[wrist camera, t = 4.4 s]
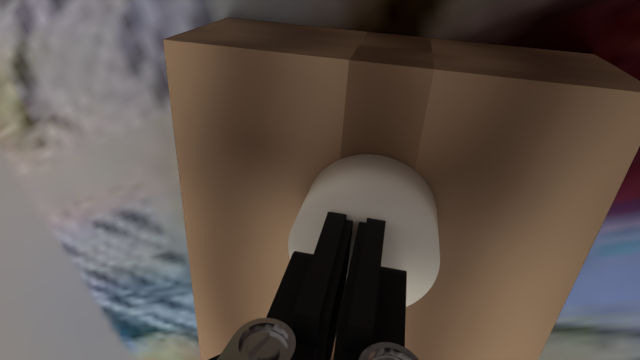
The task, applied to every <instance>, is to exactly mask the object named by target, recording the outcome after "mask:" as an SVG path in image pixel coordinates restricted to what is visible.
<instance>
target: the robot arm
mask: <svg viewBox="0 0 640 360" xmlns="http://www.w3.org/2000/svg"><path fill="white" fill-rule="evenodd" d="M385 224H386V221H384V220H378V219H372V218H367V221H366V222H359V224H358V229H357V233H356V238H355V243H354V247H353V252H352V257H351V261H350V266H349V271H348V275H347V269H348V261H349V253H350V245H351V236H352V228H353V220H347V214H341V213H335V212H328V213H327V216H326V219H325V222H324V225H323V228H322V231H321V234H320V237H319V240H318V242H317V245H316V248H315V251H314V254H309V253H304V252H298V251H294V252H293V254H292V256H291V259H290V261H289V263H288V266H287V268H286V271H285V273H284V276H283V278H282V280H281V283H280V285H279V288H278V290H277V293H276V295H275V297H274V300H273V302H272V305H271V307H270V310H269V312H268V314H267V317H266V318H258V319H255V320H251V321H249V322H247V323H246V324H244V325H242V326H241V327H240V328H239V329H238V330H237V331H236V332H235V334H234V335H233V337H232V338H231V340H230V341H229V343H228V344H227V346H226V347H225V348H224V350H223V351H222V353H221V354H219V355H217V356H215V357H213V358H210V359H208V360H331V357H332V352H333V347H334V343H335V349H334V358H333V360H419V359H418V358H417V357H416V355H415V354H413V353H412V352H411V351H410V350H408V349H407V348H405V321H406V286H407V272H406V271H405V270H399V269H394V268H388V267H382V266H381V260H382V251H383V242H384V233H385ZM346 278H347V280H346ZM335 338H336V340H335Z"/></svg>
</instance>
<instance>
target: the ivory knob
mask: <svg viewBox="0 0 640 360" xmlns="http://www.w3.org/2000/svg"><path fill="white" fill-rule="evenodd" d="M328 212H335V213H341V214H347V220H353V228H352V236H351V245H350V253H349V261H348V269H347V275H348V271H349V266H350V261H351V257H352V252H353V247H354V243H355V238H356V233H357V229H358V224H359V222H366V221H367V218H372V219H378V220H384V221H386V224H385V233H384V242H383V251H382V260H381V266H382V267H388V268H394V269H399V270H405V271H406V272H407V286H406V307H407V306H409V305H411V304H413V303H415V302H416V301H418V300H419V299H421V298H422V297H423V296H424V295H425V294H426V293H427V292H428V291H429V289H430V288H431V287H432V285H433V284H434V282H435V280H436V278H437V275H438V272H439V267H440V248H439V233H438V218H437V207H436V201H435V198H434V195H433V193H432V191H431V189H430V187H429V186H428V184H427V183H426V181H425V180H424V179H423V178H422V177H421V176H420V175H419V174H418V173H417V172H416V171H415V170H413V169H412V168H411V167H409V166H407V165H406V164H404V163H402V162H400V161H398V160H396V159H393V158H390V157H386V156H381V155H374V154H359V155H353V156H349V157H345V158H342V159H340V160H338V161H335V162H334V163H332V164H330V165H329V166H327V167H326V168H325V169H324V170H322V171H321V172H320V174H319V175H318V176H317V177H316V179H315V180H314V181H313V183H312V185H311V187H310V190H309V192H308V194H307V196H306V198H305V200H304V202H303V205H302V207H301V209H300V211H299V213H298V215H297V217H296V220H295V222H294V224H293V226H292V228H291V231H290V235H289V241H288V252H289V257H290V259H291V256H292V254H293V252H294V251H298V252H304V253H309V254H314V251H315V248H316V245H317V242H318V240H319V237H320V234H321V231H322V228H323V225H324V222H325V219H326V216H327V213H328ZM346 280H347V278H346Z"/></svg>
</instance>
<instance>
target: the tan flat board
mask: <svg viewBox="0 0 640 360" xmlns="http://www.w3.org/2000/svg"><path fill="white" fill-rule="evenodd" d="M163 44H164V52H165V60H166V69H167V77H168V86H169V94H170V102H171V111H172V119H173V128H174V136H175V145H176V153H177V161H178V170H179V178H180V187H181V195H182V204H183V212H184V220H185V229H186V237H187V246H188V254H189V262H190V271H191V279H192V288H193V296H194V305H195V313H196V321H197V330H198V338H199V347H200V355H201V360H208V359H210V358H213V357H215V356H217V355H219V354H221V353H222V351H223V350H224V348H225V347H226V346H227V344H228V343H229V341H230V340H231V338H232V337H233V335H234V334H235V332H236V331H237V330H238V329H239V328H240V327H241V326H242V325H244V324H246V323H247V322H249V321H251V320H255V319H258V318H266V317H267V314H268V312H269V310H270V307H271V305H272V302H273V300H274V297H275V295H276V293H277V290H278V288H279V285H280V283H281V280H282V278H283V276H284V273H285V271H286V268H287V266H288V263H289V261H290V257H289V252H288V241H289V235H290V231H291V228H292V226H293V224H294V222H295V220H296V217H297V215H298V213H299V211H300V209H301V207H302V205H303V202H304V200H305V198H306V196H307V194H308V192H309V190H310V187H311V185H312V183H313V181H314V180H315V179H316V177H317V176H318V175H319V174H320V172H321V171H322V170H324V169H325V168H326V167H327V166H329V165H330V164H332V163H334V162H335V161H338V160H340V159H342V158H345V157H349V156H353V155H359V154H374V155H381V156H386V157H390V158H393V159H396V160H398V161H400V162H402V163H404V164H406V165H407V166H409V167H411V168H412V169H413V170H415V171H416V172H417V173H418V174H419V175H420V176H421V177H422V178H423V179H424V180H425V181H426V183H427V184H428V186H429V187H430V189H431V191H432V193H433V195H434V198H435V201H436V207H437V218H438V233H439V248H440V267H439V272H438V275H437V278H436V280H435V282H434V284H433V285H432V287H431V288H430V289H429V291H428V292H427V293H426V294H425V295H424V296H423V297H422V298H421V299H419V300H418V301H416V302H415V303H413V304H411V305H409V306H407V307H406V321H405V348H407V349H408V350H410V351H411V352H412V353H413V354H415V355H416V357H417V358H418V359H419V360H538V358H539V356H540V354H541V352H542V350H543V348H544V346H545V344H546V341H547V339H548V337H549V335H550V333H551V331H552V329H553V327H554V325H555V323H556V320H557V318H558V316H559V314H560V312H561V310H562V308H563V306H564V304H565V302H566V299H567V297H568V295H569V293H570V291H571V289H572V287H573V285H574V283H575V281H576V278H577V276H578V274H579V272H580V270H581V268H582V266H583V264H584V262H585V260H586V257H587V255H588V253H589V251H590V249H591V247H592V245H593V243H594V241H595V239H596V236H597V234H598V232H599V230H600V228H601V226H602V224H603V222H604V220H605V218H606V215H607V213H608V211H609V209H610V207H611V205H612V203H613V201H614V199H615V197H616V195H617V192H618V190H619V188H620V186H621V184H622V182H623V180H624V178H625V176H626V174H627V171H628V169H629V167H630V165H631V163H632V161H633V159H634V157H635V155H636V153H637V150H638V148H639V146H640V81H639V80H638V79H636V78H634V77H632V76H631V75H629V74H627V73H626V72H624V71H622V70H620V69H619V68H617V67H615V66H614V65H612V64H610V63H608V62H607V61H605V60H603V59H602V58H600V57H598V56H596V55H595V54H587V53H577V52H567V51H557V50H547V49H536V48H526V47H516V46H506V45H496V44H486V43H476V42H466V41H456V40H446V39H436V38H426V37H416V36H406V35H396V34H386V33H376V32H366V31H356V30H345V29H335V28H325V27H315V26H305V25H295V24H285V23H275V22H265V21H255V20H245V19H235V18H225V19H222V20H219V21H216V22H213V23H210V24H207V25H204V26H202V27H199V28H196V29H193V30H190V31H187V32H184V33H181V34H178V35H175V36H172V37H169V38H166V39H163ZM335 340H336V338H335ZM334 349H335V343H334V347H333V352H332V357H331V360H333V358H334Z"/></svg>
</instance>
